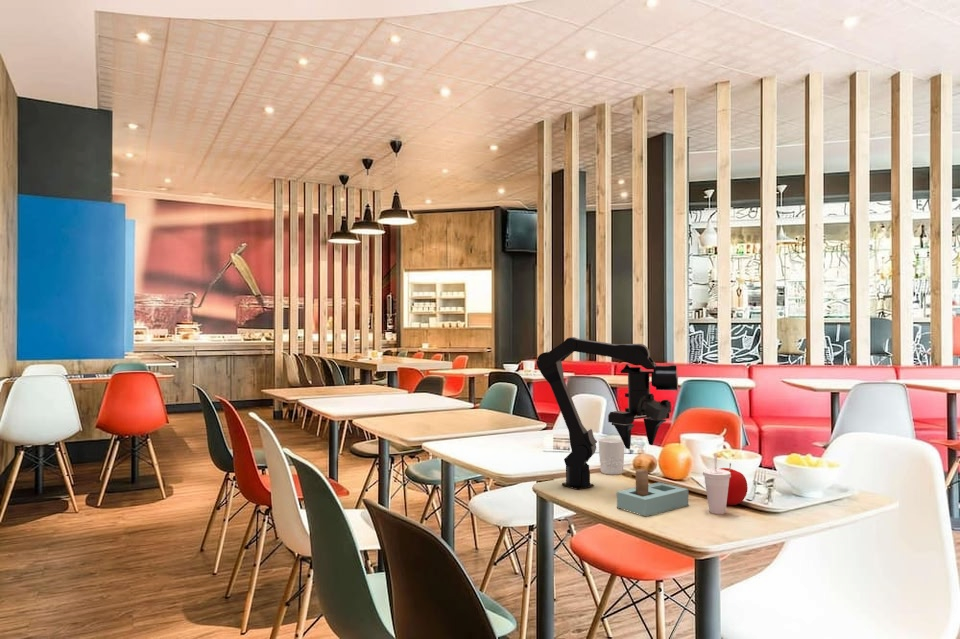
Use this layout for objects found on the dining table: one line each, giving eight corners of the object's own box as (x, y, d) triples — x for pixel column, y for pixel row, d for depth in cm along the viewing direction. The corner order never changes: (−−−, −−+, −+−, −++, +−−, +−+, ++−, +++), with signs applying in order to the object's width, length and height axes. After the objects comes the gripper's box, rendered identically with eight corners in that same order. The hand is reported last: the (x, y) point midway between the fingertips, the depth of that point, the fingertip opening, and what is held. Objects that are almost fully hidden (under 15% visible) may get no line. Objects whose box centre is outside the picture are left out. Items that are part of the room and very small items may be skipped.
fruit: (755, 507, 154) (754, 466, 154) (719, 508, 153) (718, 467, 153) (737, 497, 163) (736, 459, 163) (703, 498, 162) (702, 460, 162)
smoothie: (698, 512, 150) (697, 454, 151) (709, 506, 155) (708, 450, 155) (725, 517, 146) (724, 457, 146) (735, 511, 151) (734, 453, 151)
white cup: (599, 474, 189) (598, 441, 189) (598, 469, 197) (598, 437, 197) (625, 475, 188) (625, 442, 188) (624, 469, 196) (623, 437, 196)
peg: (633, 509, 153) (632, 470, 154) (641, 507, 155) (641, 468, 155) (642, 512, 151) (642, 472, 151) (651, 509, 153) (650, 471, 153)
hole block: (617, 507, 155) (616, 491, 155) (659, 497, 164) (659, 482, 164) (645, 516, 147) (645, 499, 147) (688, 505, 156) (688, 489, 156)
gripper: (638, 394, 159) (639, 456, 159) (685, 389, 169) (686, 447, 169) (606, 391, 168) (607, 449, 168) (652, 386, 178) (653, 441, 178)
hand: (639, 446), depth 170 cm, fingers open, 9 cm apart
